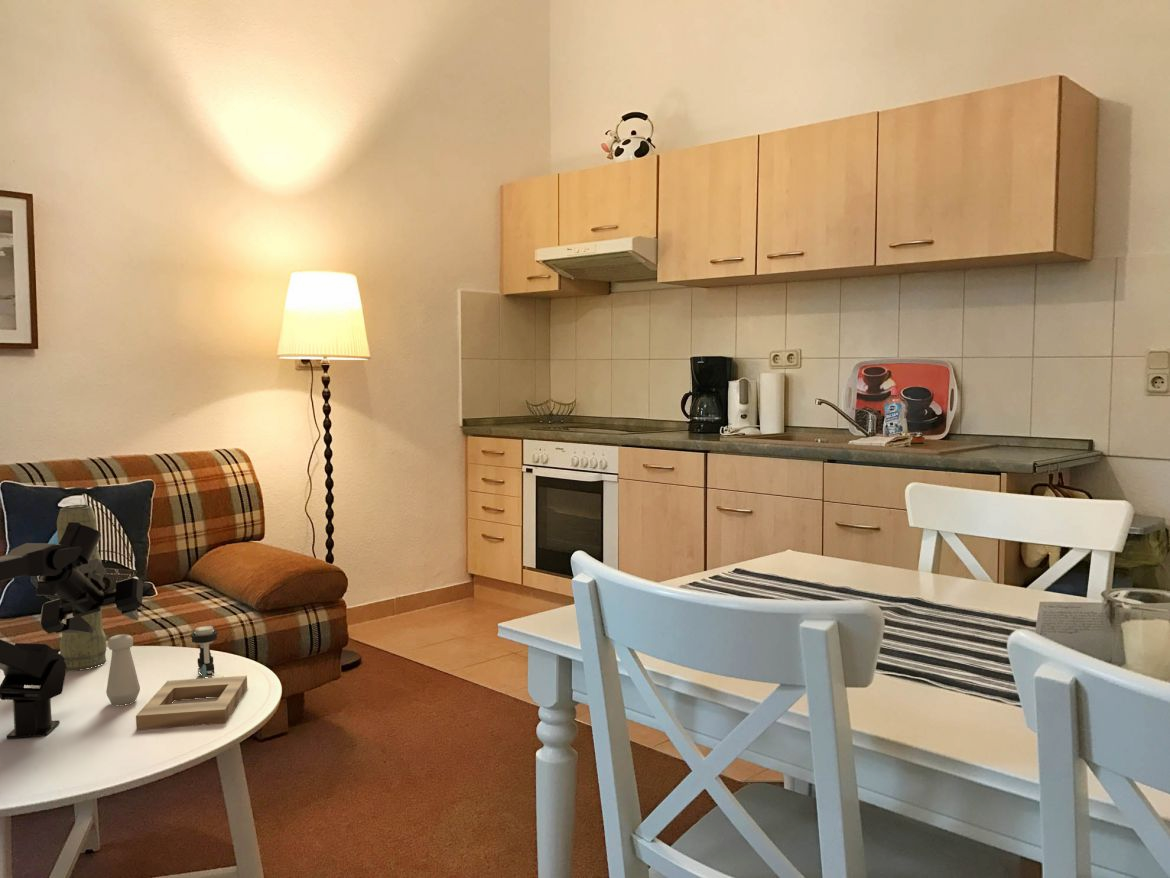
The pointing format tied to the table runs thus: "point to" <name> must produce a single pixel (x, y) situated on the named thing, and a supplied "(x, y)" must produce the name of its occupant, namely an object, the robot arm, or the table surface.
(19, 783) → the table surface
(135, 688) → the salt shaker
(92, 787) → the table surface
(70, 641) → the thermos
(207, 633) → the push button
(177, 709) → the wooden flat frame
